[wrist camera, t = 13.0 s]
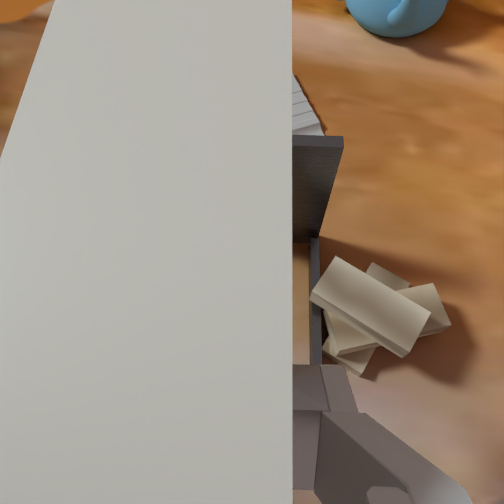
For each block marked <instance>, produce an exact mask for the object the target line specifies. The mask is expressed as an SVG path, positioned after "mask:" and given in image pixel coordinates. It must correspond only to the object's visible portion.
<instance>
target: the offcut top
mask: <svg viewBox="0 0 504 504" xmlns="http://www.w3.org/2000/svg"><path fill="white" fill-rule="evenodd" d="M309 300H310V301H312V302H313V303H315V304H317V305H318V306H320V307H321V308H323V309H325V310H326V311H328V312H329V313H331V314H332V315H334V316H336V317H337V318H339V319H340V320H342V321H344V322H345V323H347V324H348V325H350V326H352V327H353V328H355V329H356V330H358V331H359V332H361V333H363V334H364V335H366V336H367V337H369V338H371V339H372V340H374V341H375V342H377V343H378V344H380V345H382V346H383V347H385V348H386V349H388V350H390V351H391V352H393V353H394V354H396V355H398V356H399V357H401V358H403V357H404V356H406V355H407V354H408V353H409V352H410V351H411V349H412V347H413V345H414V343H415V341H416V340H417V338H418V336H419V334H420V332H421V330H422V328H423V327H424V325H425V323H426V321H427V319H428V317H429V315H430V314H431V312H430V311H428V310H426V309H425V308H423V307H421V306H420V305H418V304H416V303H414V302H413V301H411V300H409V299H408V298H406V297H404V296H403V295H401V294H399V293H398V292H396V291H394V290H393V289H391V288H389V287H387V286H386V285H384V284H382V283H381V282H379V281H377V280H376V279H374V278H372V277H371V276H369V275H367V274H366V273H364V272H362V271H360V270H359V269H357V268H355V267H354V266H352V265H350V264H349V263H347V262H345V261H344V260H342V259H340V258H339V257H337V256H335V258H334V259H333V261H332V262H331V264H330V265H329V267H328V268H327V269H326V271H325V272H324V274H323V275H322V277H321V278H320V280H319V281H318V283H317V284H316V286H315V287H314V289H313V290H312V292H311V295H310V298H309Z"/></svg>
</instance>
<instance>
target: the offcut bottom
mask: <svg viewBox="0 0 504 504" xmlns="http://www.w3.org/2000/svg"><path fill="white" fill-rule="evenodd" d="M366 274H367V275H369V276H371V277H372V278H374V279H376V280H377V281H379V282H381V283H382V284H384V285H386V286H387V287H389V288H391V289H393V290H394V291H397V290H402V289H407V288H408V287H409V285H410V283H409V282H407V281H406V280H404V279H402V278H400V277H398V276H397V275H395V274H393V273H391V272H389V271H388V270H386V269H384V268H382V267H380V266H379V265H377V264H375V263H373V262H372V263H371V265H370V266H369V268H368V270H367V271H366ZM375 348H376V347H374V348H370V349H365V350H361V351H356V352H352V353H348V354H343V355H339V356H335V352H334V349H333V346H332V343H331V339H330V336H328V338H327V339H326V341H325V343H324V344H323V346H322V354H323V355H325V356H326V357H328V358H329V359H331V360H333V361H334V362H336V363H337V364H339V365H343V366H344V368H346V369H347V370H349V371H350V372H352V373H354V374H355V375H357V376H358V377H359V376H360V375H361V374H362V373H363V371H364V369H365V367H366V365H367V363H368V361H369V360H370V358H371V356H372V354H373V352H374V350H375Z"/></svg>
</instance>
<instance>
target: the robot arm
mask: <svg viewBox="0 0 504 504" xmlns="http://www.w3.org/2000/svg"><path fill="white" fill-rule="evenodd" d="M292 460H293V489H301V490H314V493H315V494H316V496H317V497H318V498H319V500H320V501H321V502H322V504H473V503H472V501H471V499H470V498H469V496H468V494H467V492H466V490H465V488H463V487H462V486H461V485H460V484H458V483H457V482H456V481H454V480H453V479H452V478H450V477H449V476H448V475H446V474H445V473H444V472H442V471H441V470H440V469H438V468H437V467H436V466H434V465H433V464H432V463H431V462H429V461H428V460H427V459H425V458H424V457H423V456H421V455H420V454H419V453H417V452H416V451H415V450H413V449H412V448H411V447H409V446H408V445H407V444H406V443H404V442H403V441H402V440H400V439H399V438H398V437H396V436H395V435H394V434H392V433H391V432H390V431H388V430H387V429H386V428H384V427H383V426H382V425H380V424H379V423H378V422H377V421H375V420H374V419H373V418H371V417H370V416H369V415H367V414H366V413H358V409H357V406H356V403H355V400H354V396H353V393H352V390H351V387H350V384H349V380H348V377H347V374H346V371H345V368H344V366H343V365H300V364H292Z"/></svg>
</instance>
